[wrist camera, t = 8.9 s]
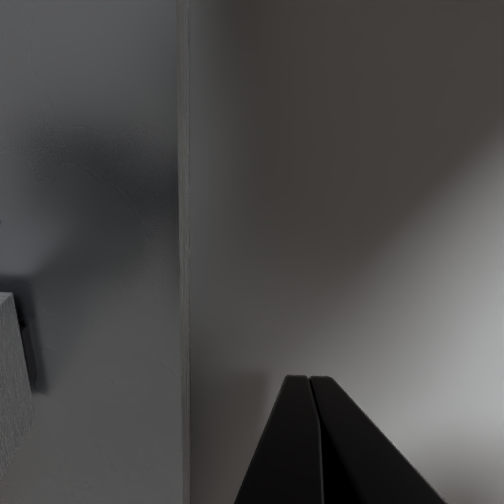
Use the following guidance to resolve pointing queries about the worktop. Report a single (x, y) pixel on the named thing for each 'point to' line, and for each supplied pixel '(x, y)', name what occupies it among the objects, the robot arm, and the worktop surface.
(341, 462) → the robot arm
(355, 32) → the worktop surface
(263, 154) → the worktop surface
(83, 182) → the panel
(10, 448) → the slider
